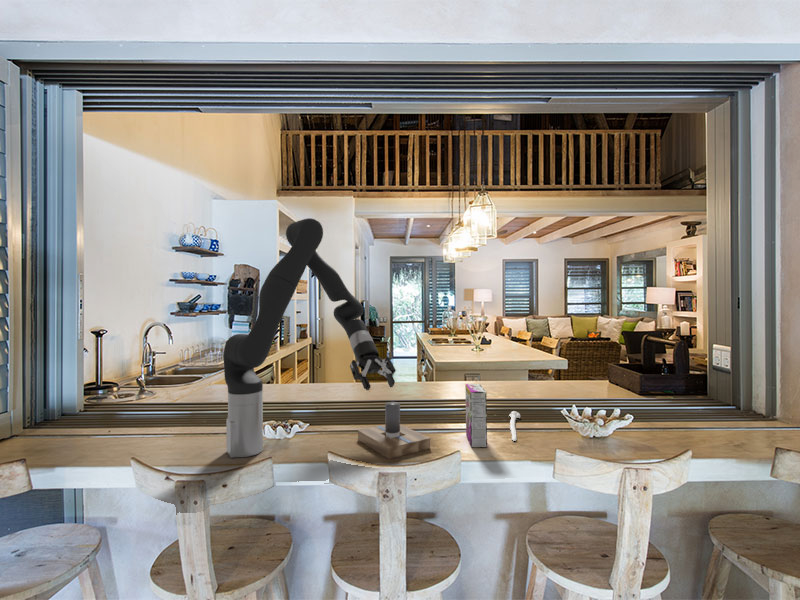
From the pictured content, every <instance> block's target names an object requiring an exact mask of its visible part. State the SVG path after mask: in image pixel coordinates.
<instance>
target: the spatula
mask: <svg viewBox="0 0 800 600" xmlns="http://www.w3.org/2000/svg"><path fill="white" fill-rule="evenodd" d="M509 416H510V417H511V419H510V421H509V430H511V431H510V435H511V434H512V436H511V441H512V440H513V441H516V440H517V441H518V439H517V437H518V435H517V429H516V420H517V419H516V418H519V419H520V418H521V414H520V412H518V411H515V410H513V411H510V413H509V415H508V417H509ZM513 441H512V442H513ZM517 441H516V442H517Z"/></svg>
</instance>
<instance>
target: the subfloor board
mask: <svg viewBox="0 0 800 600" xmlns="http://www.w3.org/2000/svg"><path fill="white" fill-rule="evenodd" d="M357 441H359V442H361V443H362V444H364V445H365V446H366V447H369V448H370V449H372V450H373V451H375V452H376V453H378V454H380V455H382V456H383V457H385V458H387V459H388V460H390V459H394V458H399V457H402V456H406V455H410V454H414V453H418V452H422V451H425V450H429V449H431V437H429V436H426V435H424V434H422V433H420V432H418V431H416V430H414V429H412V428H409V427H407V426H405V425H402V424H401V423H400V432H399V437H394V438H388V437H386V431H385V424H382V425H377V426H372V427H368V428H363V429H358V430H357Z"/></svg>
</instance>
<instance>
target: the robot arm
mask: <svg viewBox="0 0 800 600" xmlns="http://www.w3.org/2000/svg"><path fill="white" fill-rule="evenodd" d="M285 237H286V240H287V242H288V244H289V245H290V246H291V247H290V249H289V250H288V251H287V253H286V254H285V255H284V256H283V257H282V258H281V259H280V260H279V261H278V262H277V263H276V264H275V266H274V267H273V268H272V269H271V270H270V271H269V273H268V274H267V276H266V278H265V280H264V282H263V284H262V286H261V287H260V291H259V297H258V315H257V318H256V320H255V322H254V325H253V326H252V328H251V329H250V331H249V333H248V334H246V333H245V334H244V333H238V334H232V336H230V337H229V338H228V339H227V340H226V342H225V344H224V349H223V371H224V373H223V374H224V382H225V384H226V386H227V418H226V421H225V422H226V424H225V425H226V432H225V433H226V453H227V455H228V456H229V458H231V459H232V458H246V457H251V456H255V455H258V454H260V453H261V452H262V451H264V435H263V434H264V430H263V429H264V421H263V420H264V419H263V417H264V415H263V414H264V411H263V409H264V407H263V406H264V405H263V404H264V402H263V401H264V397H263V393H264V392H263V391H264V389H263V388H264V387H263V386H264V384H263V383H264V382H263V380H262V379H261V378H260V377H259V376H258V375H257V373H256V371H255V368H258V367H261V365H262V364H263V363H264V362H265V361H266V360H267V358H268V355H269V353H270V351H271V349H272V348H271V347H272V344H273V342H274V339H275V336H276V333H277V330H278V328H279V326H280V323H281V322H282V320H283V317H284V314H285V313H286V309H287V308H288V306H289V304H290V303H291V300H292V298H293V296H294V294H295V292H296V290H297V287H298V285H299V283H300V281H301V279H302V277H303V275H304V273H305V271H306V268H307V267H308V268H309V270H310V271H311V272H312V274H313V275H314V276H315V278H316V279H317V280H318V282H319V284H320V285H321V287H322V289H323V291H324V292H325V295H327V297H328V299H329V300H330V301H331V302H333V303H334V302H335V303H336V302H340V301H345V302H343V303H342V304H338V305H337V306H336V307H335V308H334V309H333V317H334V319H335V320H336V321H337V322H338V323H339V325H340V326H341V327H342V328H343V329H344V331H345V333H346V335H347V338H348V340H349V342H350V347H351V349H352V353H353V354H354V357H355V359H353V360H352V361H351V363H350V365H349V368H350V371H351V374H352V377H353V379H354V380H355V381H358V380H359V381H360V382H361V384H362V386H363V389H364V390H366V391H370V390H371V387H372V385H371V383H370V381H369V379H368V376H366V375H367V374H368V375H370V374H379V375H380V376H384V377H385V380H386V381H387V384H388V386H389V388H393V387H394V385H395V383H396V381H395V379H394V374H395V373H396V368H395V366H394V364H393V362H392V361H391V358H390V357H388V356H386V358H384V359H382V358H381V357H380V353H379V350H378V348H377V346H376V344H375V342H374V340H373V337H372V336H371V334H370V332H369V330H368V328H367V326H366V324H365V322H364V321H363V320H362V319H358V318H360V317H362V316H363V314H364V311H365V310H364V306H363V305H362V303H361V302H360V300H358V299H357V298H356V297H355V296H354V295H353V294H352V293H351V291H350V290H349V289H348V288H347V286H346V285H345V283H344V281H343V280H342V278H341V276H340V274H339V273H338V271H336V270H335V268H334V267H332V266H331V265H330V264H329V263H328V262H327V261H325V260H324V258H322V257H321V256H320V254H319V253H318V252H317V249H318V248H319V246H320V244H321V243H322V241H323V237H324V229H323V226H322V223H321V222H320V221H319V220H318V219H315V218H313V217H312V218H304V219H300V220H298V221H297V220H296V221H294V222H292V223H290V224H289V225H288V226H287V228H286V231H285ZM359 368H360V369H361V370H362V372H361V373H360V370H359ZM381 368H382V370H381Z"/></svg>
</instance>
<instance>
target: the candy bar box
mask: <svg viewBox="0 0 800 600" xmlns="http://www.w3.org/2000/svg"><path fill="white" fill-rule="evenodd" d="M464 385H465V387H464V390H465V435H466V438H467V440H468V442H469V445H470V448H472V447H487V448H488V419H487V418H488V413H487V412H488V411H487V410H488V409H487V408H488V406H487V391H486V390H485V389H484V387H483V386H482V385H481V383H465V384H464Z"/></svg>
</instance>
